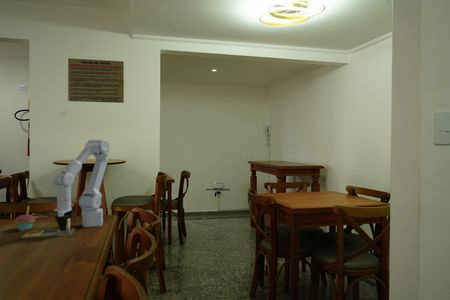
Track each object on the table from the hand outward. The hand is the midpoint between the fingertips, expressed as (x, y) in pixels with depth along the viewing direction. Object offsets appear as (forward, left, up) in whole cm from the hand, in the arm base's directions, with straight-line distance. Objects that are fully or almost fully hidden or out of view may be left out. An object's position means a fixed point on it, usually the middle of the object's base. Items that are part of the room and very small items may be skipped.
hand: (64, 228), depth 147 cm
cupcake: (+20, -15, -3) cm, 25 cm away
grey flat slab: (+6, 0, -3) cm, 7 cm away
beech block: (0, 0, -2) cm, 2 cm away
